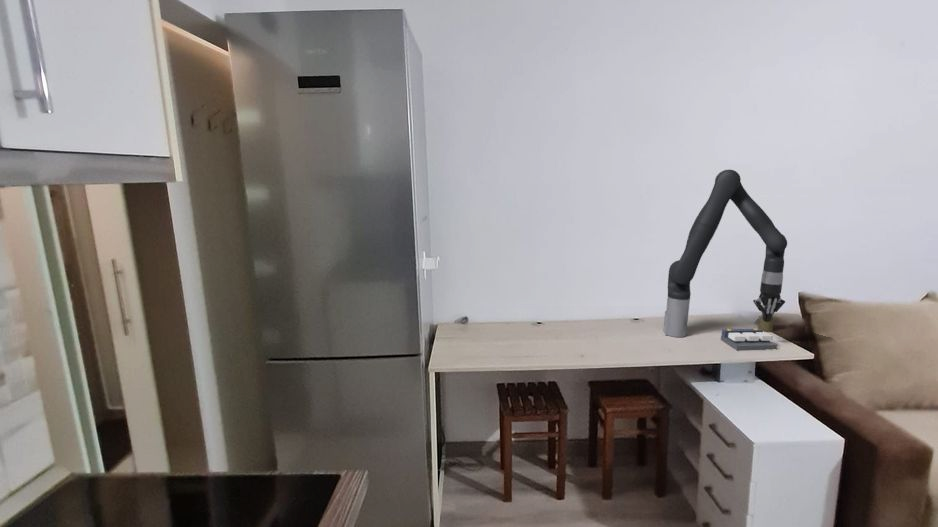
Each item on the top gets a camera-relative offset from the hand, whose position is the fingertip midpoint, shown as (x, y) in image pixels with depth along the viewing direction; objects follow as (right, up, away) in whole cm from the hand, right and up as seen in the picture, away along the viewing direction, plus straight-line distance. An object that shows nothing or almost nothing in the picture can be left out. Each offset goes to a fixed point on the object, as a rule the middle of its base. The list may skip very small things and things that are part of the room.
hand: (766, 321), depth 210 cm
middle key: (-6, -7, +1) cm, 10 cm away
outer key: (0, -7, +2) cm, 8 cm away
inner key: (-12, -8, +1) cm, 14 cm away
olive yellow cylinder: (+12, -7, +21) cm, 24 cm away
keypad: (-6, -10, +3) cm, 12 cm away
